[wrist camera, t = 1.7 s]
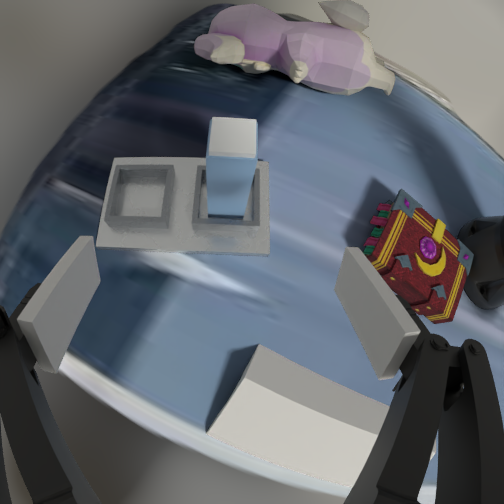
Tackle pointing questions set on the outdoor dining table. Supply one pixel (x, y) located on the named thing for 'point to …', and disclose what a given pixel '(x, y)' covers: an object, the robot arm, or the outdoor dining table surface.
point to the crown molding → (300, 420)
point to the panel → (178, 210)
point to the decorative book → (418, 258)
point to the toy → (299, 47)
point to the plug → (230, 165)
